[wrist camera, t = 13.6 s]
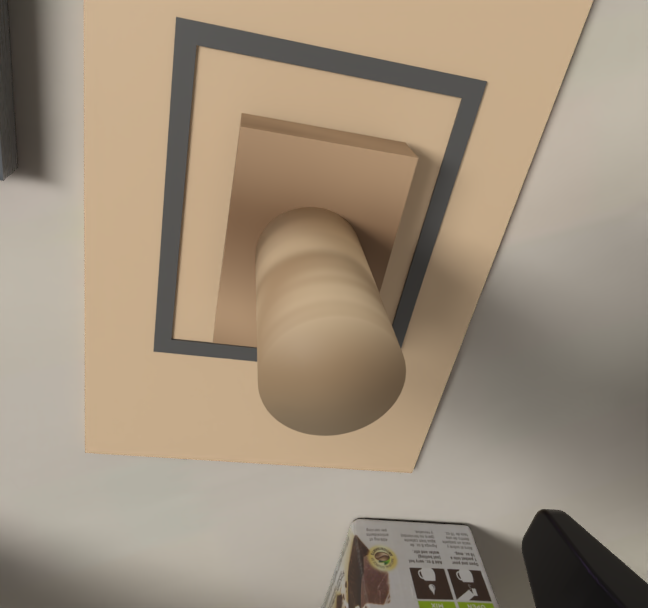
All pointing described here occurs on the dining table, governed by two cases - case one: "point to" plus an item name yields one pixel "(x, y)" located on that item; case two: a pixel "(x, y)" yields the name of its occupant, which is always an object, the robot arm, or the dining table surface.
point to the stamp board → (216, 184)
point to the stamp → (314, 270)
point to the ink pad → (6, 99)
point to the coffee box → (409, 568)
